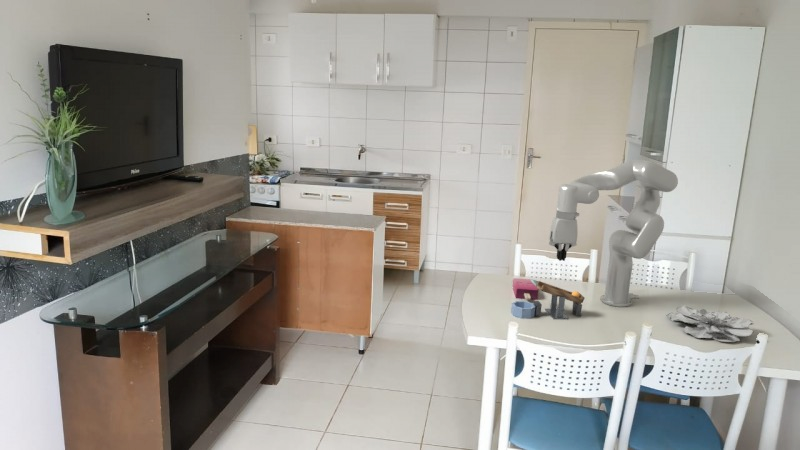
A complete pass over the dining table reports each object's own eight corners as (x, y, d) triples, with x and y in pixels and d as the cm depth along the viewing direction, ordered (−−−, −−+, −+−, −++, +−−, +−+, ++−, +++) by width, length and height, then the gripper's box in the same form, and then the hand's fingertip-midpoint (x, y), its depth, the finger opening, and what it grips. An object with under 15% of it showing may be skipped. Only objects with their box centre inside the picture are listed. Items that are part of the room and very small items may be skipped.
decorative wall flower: (705, 296, 244) (775, 322, 217) (703, 311, 245) (772, 339, 218) (652, 303, 232) (719, 332, 205) (650, 320, 233) (715, 350, 206)
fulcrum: (573, 310, 238) (576, 289, 236) (583, 319, 229) (586, 297, 227) (530, 309, 236) (532, 288, 234) (538, 319, 227) (540, 297, 225)
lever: (569, 293, 242) (572, 286, 241) (581, 305, 229) (584, 297, 229) (530, 280, 239) (533, 273, 238) (541, 291, 226) (544, 283, 226)
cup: (529, 310, 236) (530, 301, 235) (536, 318, 227) (537, 308, 226) (509, 310, 235) (509, 300, 234) (515, 318, 226) (516, 308, 225)
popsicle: (518, 292, 243) (513, 277, 262) (517, 303, 244) (512, 288, 264) (540, 294, 242) (533, 279, 262) (539, 305, 243) (532, 289, 263)
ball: (576, 298, 233) (579, 291, 233) (579, 301, 230) (582, 293, 230) (569, 296, 233) (571, 289, 232) (572, 299, 230) (574, 291, 229)
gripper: (580, 214, 235) (575, 257, 239) (544, 213, 233) (539, 256, 237) (588, 218, 227) (582, 262, 231) (550, 217, 226) (545, 262, 230)
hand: (560, 259), depth 234 cm, fingers closed
